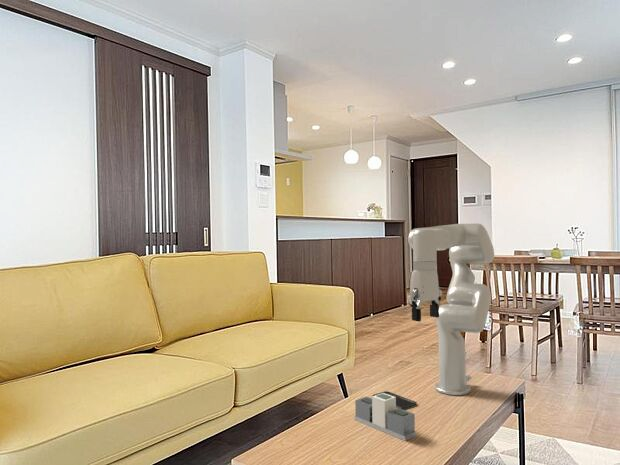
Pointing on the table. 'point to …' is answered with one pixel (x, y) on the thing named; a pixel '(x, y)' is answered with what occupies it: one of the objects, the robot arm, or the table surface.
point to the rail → (397, 419)
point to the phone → (401, 401)
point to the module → (382, 408)
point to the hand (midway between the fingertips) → (425, 318)
